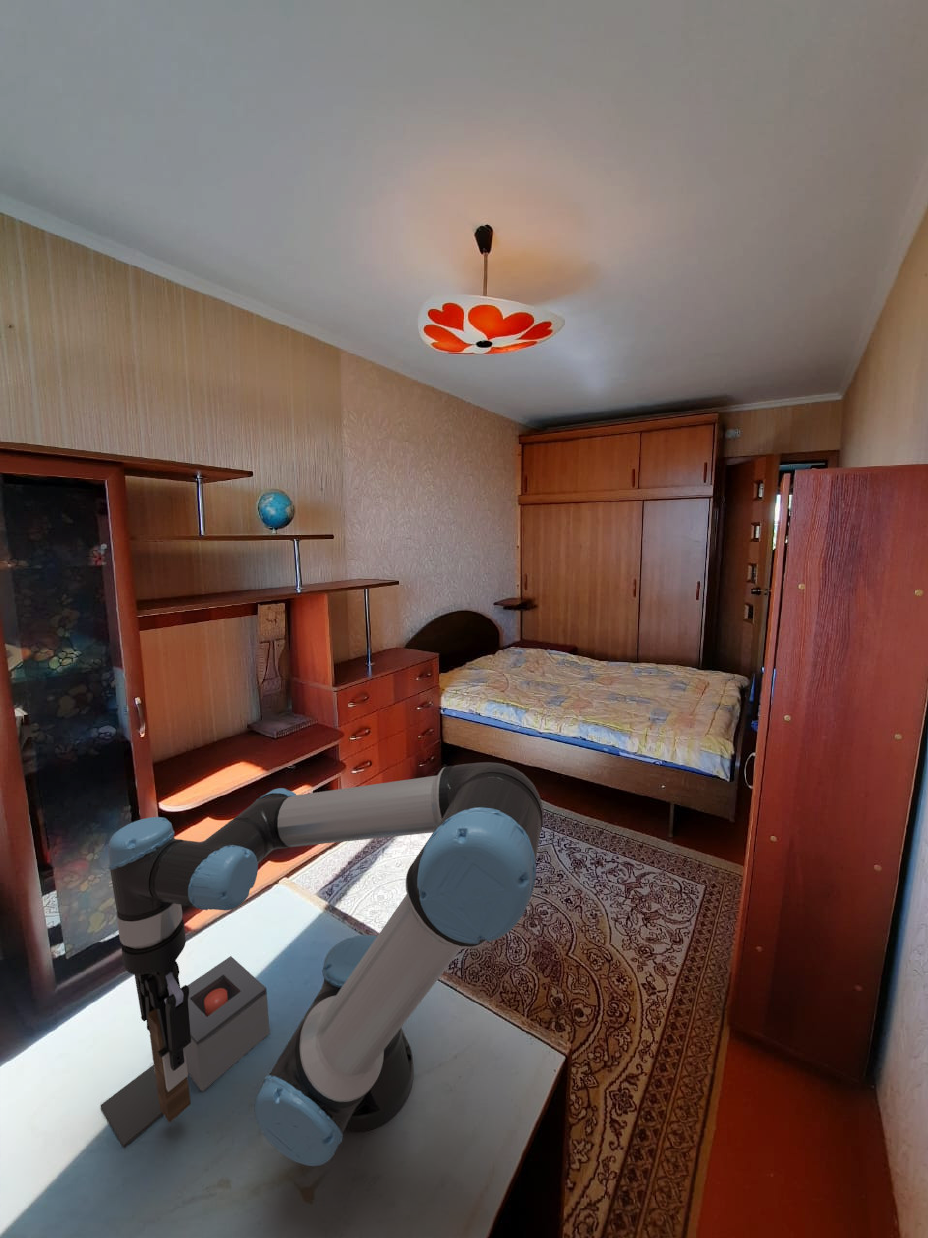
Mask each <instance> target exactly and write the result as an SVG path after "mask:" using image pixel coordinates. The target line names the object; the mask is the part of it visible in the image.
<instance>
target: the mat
mask: <svg viewBox="0 0 928 1238" xmlns="http://www.w3.org/2000/svg"><path fill="white" fill-rule="evenodd" d="M100 1110H101V1111H102V1113H103V1115H104V1117H105V1118H106V1120H107V1122H108V1124H109V1125H110V1127H111V1129H112V1130H113V1133H114V1134H115V1136H116V1139H118V1141H119V1142H120V1145H121V1147H122V1148H123V1149H125V1148H127V1147H128V1146H129V1145H130V1144H131V1143H132V1142H134V1141H135V1140H136V1139H137V1138H138V1137H140V1136H141V1135H142V1134H143V1133H144V1132H146V1130H148V1129H149V1128H150V1127H151V1126H153V1124H155V1123H156V1122H157V1121H159V1119H161V1118H162V1117H163V1116H164V1115H163V1113H162V1112H161V1110H160V1104H159V1097H158V1089H157V1082H156V1075H155V1070H154V1064H152V1065H151V1066H150V1067H148V1068H147V1069H146V1070H144V1071H143V1072H142V1073H141V1074H139V1075H138V1076H136V1077H135V1078H134V1079H133V1080H132V1081H130V1082H129V1083H127V1084H126V1085H124V1087H122V1088H121V1089H120V1090H118V1091H117V1092H116V1093H114V1094H113V1095H111V1096H110V1097H109V1098H108V1099H107V1100H105V1101H104V1102H103V1103H101V1104H100Z"/></svg>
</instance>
